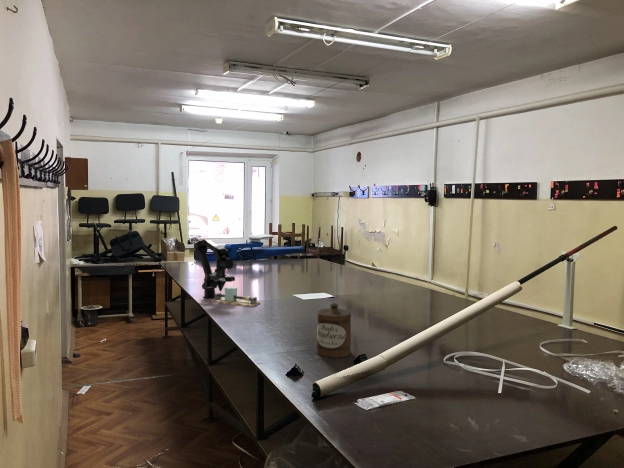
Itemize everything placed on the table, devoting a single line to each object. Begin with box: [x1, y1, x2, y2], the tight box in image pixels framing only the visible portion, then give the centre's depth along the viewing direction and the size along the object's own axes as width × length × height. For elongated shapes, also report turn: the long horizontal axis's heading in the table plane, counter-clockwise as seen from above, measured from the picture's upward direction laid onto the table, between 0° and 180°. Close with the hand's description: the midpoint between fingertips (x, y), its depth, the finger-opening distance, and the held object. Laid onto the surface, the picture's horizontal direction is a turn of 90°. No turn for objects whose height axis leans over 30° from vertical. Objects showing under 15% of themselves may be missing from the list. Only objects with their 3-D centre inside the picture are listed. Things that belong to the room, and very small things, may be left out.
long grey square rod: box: [218, 293, 255, 301], centre depth 306 cm, size 29×2×2 cm, turn 65°
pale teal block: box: [224, 286, 238, 301], centre depth 307 cm, size 6×5×8 cm
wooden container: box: [316, 302, 352, 359], centre depth 210 cm, size 15×15×22 cm
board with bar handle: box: [210, 292, 261, 308], centre depth 306 cm, size 30×11×5 cm, turn 65°
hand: (220, 291), depth 310 cm, fingers closed
